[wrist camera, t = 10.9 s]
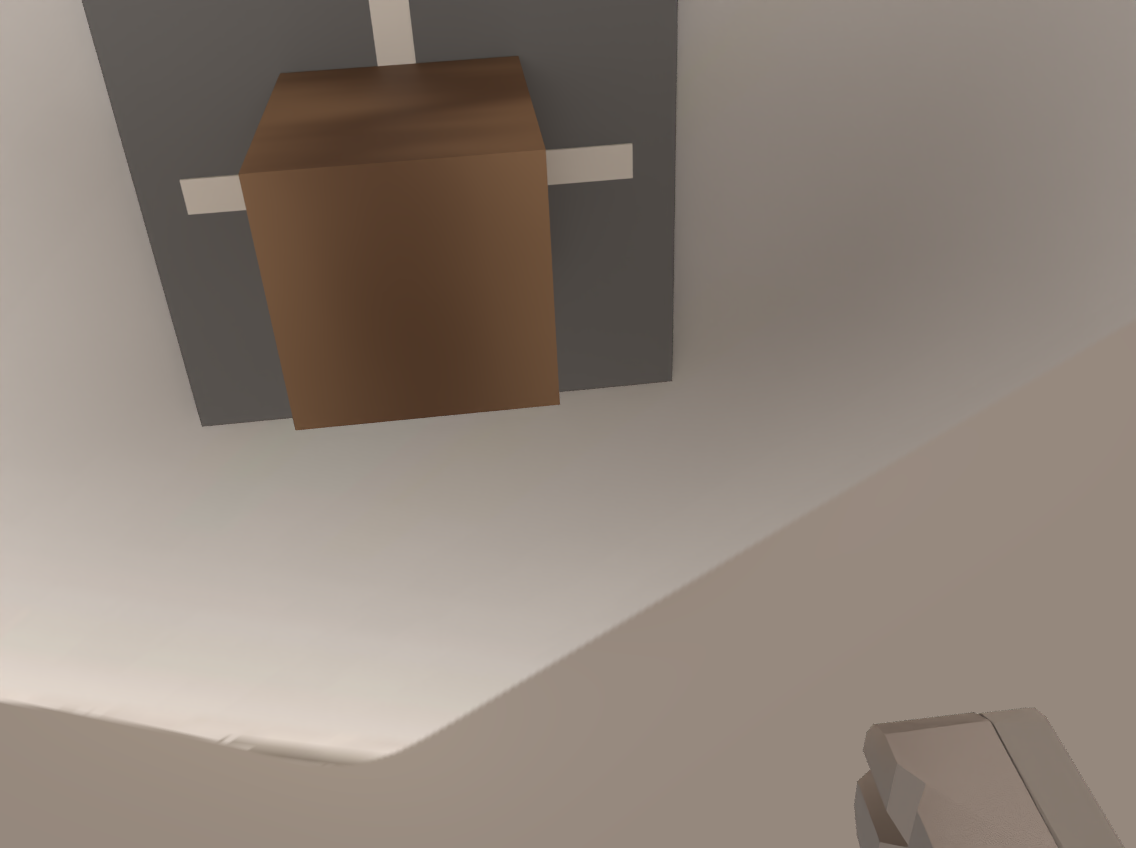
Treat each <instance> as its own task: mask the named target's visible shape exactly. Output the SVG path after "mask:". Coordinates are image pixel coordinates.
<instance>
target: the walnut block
mask: <svg viewBox="0 0 1136 848" xmlns="http://www.w3.org/2000/svg"><path fill="white" fill-rule="evenodd" d="M238 175H239V180H240V184H241V189H242V193H243V198H244V202H245V207H246V211H247V215H248V220H249V224H250V229H251V233H252V238H253V242H254V247H255V251H256V256H257V260H258V265H259V269H260V274H261V278H262V283H263V287H264V291H265V296H266V300H267V305H268V309H269V314H270V318H271V323H272V327H273V332H274V336H275V341H276V345H277V350H278V354H279V358H280V363H281V367H282V372H283V376H284V381H285V385H286V390H287V394H288V399H289V403H290V408H291V412H292V417H293V421H294V426H295V430H303V429H314V428H324V427H334V426H344V425H355V424H365V423H375V422H385V421H395V420H406V419H416V418H426V417H436V416H447V415H457V414H467V413H477V412H488V411H498V410H508V409H518V408H529V407H539V406H549V405H559V404H560V399H559V381H558V363H557V345H556V327H555V308H554V290H553V272H552V254H551V236H550V218H549V200H548V182H547V164H546V149H545V145H544V142H543V138H542V135H541V132H540V128H539V125H538V121H537V118H536V115H535V111H534V108H533V104H532V101H531V97H530V94H529V91H528V87H527V84H526V80H525V77H524V73H523V70H522V67H521V63H520V60H519V56H510V57H496V58H482V59H469V60H455V61H442V62H428V63H414V64H401V65H387V66H374V67H360V68H346V69H333V70H319V71H305V72H292V73H280V74H279V77H278V79H277V82H276V84H275V86H274V89H273V91H272V94H271V96H270V99H269V101H268V103H267V106H266V108H265V111H264V113H263V115H262V118H261V120H260V123H259V125H258V128H257V130H256V132H255V135H254V137H253V140H252V142H251V145H250V147H249V149H248V152H247V154H246V157H245V159H244V161H243V164H242V166H241V169H240V171H239V174H238Z"/></svg>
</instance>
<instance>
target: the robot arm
mask: <svg viewBox="0 0 1136 848" xmlns="http://www.w3.org/2000/svg"><path fill="white" fill-rule="evenodd" d="M863 752H864V754H865V757H866V759H867V762H868V765H869V767H870V770H869V771H868V772H867V773H866V774H865V775H864V776H863V777H862V778H860V779H859V780H858V781H857V788H856V795H855V803H854V808H855V820H856V830H857V837H858V841H859V845H860V848H1125V847H1124V845H1123V844H1122V842H1121V840H1120V839H1119V837H1118V836H1117V834H1116V832H1115V831H1114V829H1113V827H1112V825H1111V824H1110V822H1109V820H1108V819H1107V817H1106V815H1105V814H1104V812H1103V810H1102V809H1101V807H1100V806H1099V804H1098V802H1097V801H1096V799H1095V797H1094V796H1093V794H1092V792H1091V791H1090V789H1089V787H1088V786H1087V784H1086V782H1085V781H1084V779H1083V777H1082V776H1081V774H1080V772H1079V771H1078V769H1077V767H1076V766H1075V764H1074V762H1073V761H1072V759H1071V757H1070V756H1069V754H1068V752H1067V751H1066V749H1065V747H1064V746H1063V744H1062V742H1061V741H1060V739H1059V737H1058V736H1057V734H1056V732H1055V731H1054V729H1053V728H1052V726H1051V724H1050V722H1049V721H1048V719H1047V717H1046V716H1045V715H1043V714H1042V713H1041V712H1040V711H1038V710H1037V709H1036V708H1020V709H1011V710H1002V711H994V712H985V713H979V714H977V713H975V712H971V713H962V714H954V715H945V716H937V717H929V718H921V719H912V720H904V721H895V722H887V723H879V724H873V725H872V726H871V727H870V729H869V730H868V731H867V733H866V738H865V743H864V748H863Z"/></svg>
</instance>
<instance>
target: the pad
mask: <svg viewBox="0 0 1136 848" xmlns="http://www.w3.org/2000/svg"><path fill="white" fill-rule="evenodd" d="M82 3H83V6H84V10H85V13H86V17H87V21H88V24H89V28H90V31H91V35H92V38H93V42H94V45H95V49H96V52H97V56H98V60H99V63H100V67H101V70H102V74H103V77H104V81H105V84H106V88H107V91H108V95H109V98H110V102H111V106H112V109H113V113H114V116H115V120H116V123H117V127H118V130H119V134H120V137H121V141H122V145H123V148H124V152H125V155H126V159H127V162H128V166H129V169H130V173H131V176H132V180H133V183H134V187H135V191H136V194H137V198H138V201H139V205H140V208H141V212H142V215H143V219H144V222H145V226H146V229H147V233H148V237H149V240H150V244H151V247H152V251H153V254H154V258H155V261H156V265H157V268H158V272H159V276H160V279H161V283H162V286H163V290H164V293H165V297H166V300H167V304H168V307H169V311H170V314H171V318H172V322H173V325H174V329H175V332H176V336H177V339H178V343H179V346H180V350H181V353H182V357H183V361H184V364H185V368H186V371H187V375H188V378H189V382H190V385H191V389H192V392H193V396H194V399H195V403H196V407H197V410H198V414H199V417H200V421H201V424H202V426H213V425H223V424H233V423H244V422H254V421H264V420H275V419H285V418H293V417H292V412H291V408H290V403H289V399H288V394H287V390H286V385H285V381H284V376H283V372H282V367H281V363H280V358H279V354H278V350H277V345H276V341H275V336H274V332H273V327H272V323H271V318H270V314H269V309H268V305H267V300H266V296H265V291H264V287H263V283H262V278H261V274H260V269H259V265H258V260H257V256H256V251H255V247H254V242H253V238H252V233H251V229H250V224H249V220H248V215H247V211H246V207H245V202H244V198H243V193H242V189H241V184H240V180H239V175H238V174H239V171H240V169H241V166H242V164H243V161H244V159H245V157H246V154H247V152H248V149H249V147H250V145H251V142H252V140H253V137H254V135H255V132H256V130H257V128H258V125H259V123H260V120H261V118H262V115H263V113H264V111H265V108H266V106H267V103H268V101H269V99H270V96H271V94H272V91H273V89H274V86H275V84H276V82H277V79H278V77H279V74H280V73H292V72H305V71H319V70H333V69H346V68H360V67H374V66H387V65H401V64H414V63H428V62H442V61H455V60H469V59H482V58H496V57H510V56H519V60H520V63H521V67H522V70H523V73H524V77H525V80H526V84H527V87H528V91H529V94H530V97H531V101H532V104H533V108H534V111H535V115H536V118H537V121H538V125H539V128H540V132H541V135H542V138H543V142H544V145H545V149H546V164H547V182H548V200H549V218H550V236H551V254H552V272H553V290H554V308H555V327H556V345H557V363H558V381H559V392H564V391H574V390H585V389H595V388H605V387H616V386H626V385H636V384H647V383H657V382H667V381H672V355H673V287H674V218H675V150H676V82H677V14H678V0H82Z"/></svg>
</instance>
